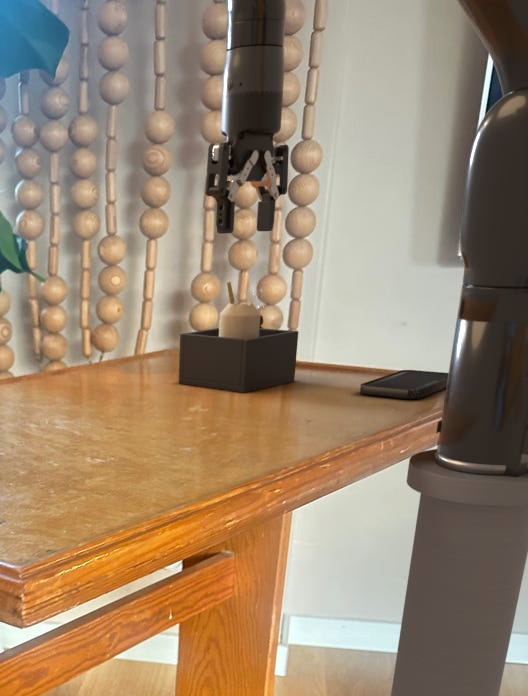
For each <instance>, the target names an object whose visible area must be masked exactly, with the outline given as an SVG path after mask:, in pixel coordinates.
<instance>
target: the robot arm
mask: <svg viewBox="0 0 528 696" xmlns="http://www.w3.org/2000/svg"><path fill="white" fill-rule="evenodd" d="M456 2H457V4H458V5H459V8H460V9H461V11H462V12H463V13H464V15H465V17H466V18H467V20H468V22H469V23H470V25H471V26H472V28H473V29H474V31H475V32H476V34H477V36H478V37H479V38H480V40H481V42H482V44H483V45H484V47H485V48H486V50H487V52H488V54H489V56H490V58H491V61H492V63H493V66H494V68H495V71H496V74H497V78H498V81H499V84H500V89H501V94H502V97H501V98H500V99H498V100H497V101H496V102H495V103H494V104H493V105H492V106H491V107H490V108H489V110H488V111H487V112H486V113H485V115H484V116H483V118H482V119H481V122H480V123H479V126H478V128H477V130H476V133H475V135H474V138H473V141H472V143H471V147H470V153H469V157H468V162H467V169H466V178H465V186H464V196H463V203H462V213H461V215H462V216H461V221H460V222H461V224H460V232H459V233H460V234H459V250H460V255H461V258H462V262H463V275H462V282H461V283H462V285H461V288H460V289H461V290H460V297H459V302H458V310H457V317H456V323H455V328H454V330H455V331H454V336H453V341H452V348H451V354H450V355H451V356H450V360H449V361H450V362H449V368H448V373H449V374H448V380H447V387H446V388H445V393H444V394H445V395H444V401H443V408H442V413H441V420H439V421H437V425H436V426H437V427H436V434H438V439H437V443H436V444H437V446H436V448H435V449H436V453H435V460H434V461H435V463H436V464H438V465H439V466H441V467H443V468H446V469H449V470H453V471H457V472H463V473H469V474H477V475H494V476H509V477H519V476H521V475H524V474H526V473H528V0H456ZM225 5H226V12H227V13H226V14H227V15H226V16H227V23H226V46H225V47H226V48H225V50H226V52H225V59H224V64H223V65H224V67H223V72H222V73H223V75H222V93H221V119H220V122H221V123H220V133H221V135H222V136H223V137H226V142H216V143H210V144H209V145H208V149H207V150H208V151H207V162H206V179H205V195H206V196H207V197H211V198H213V199H214V202H216V218H215V219H216V220H215V223H216V224H215V225H216V232H217V233H218V234H220V235H221V234H232V233H233V232H234V229H235V209H236V208H235V207H236V206H235V205H236V202H235V201H234V200H235V198H236V196H237V194H238V192H239V190H240V188H241V187H243V186H244V185H245V183H246V182H247V183H249V184H250V185H251V187H252V188H254V189H255V191H256V194H257V196H258V199H259V201H257V216H256V230H257V232H272V231H273V229H274V223H275V213H276V201H277V200H278V199H279V197H281V196H282V195H283V196H284V195H286V194H287V192H288V181H289V178H288V177H289V176H288V175H289V151H290V150H289V149H290V147H289V145H288V144H276V145H275V144H274V136H275V135H276V134H278V133H279V132H280V131H281V128H282V114H283V100H284V99H283V97H284V84H285V83H284V82H285V56H284V55H285V54H284V53H285V52H284V50H285V35H286V18H287V1H286V0H225ZM217 175H218V179H217V184H216V177H217ZM277 176H278V177H279V180H278V181H279V182H278V183H279V184H277V183H276V181H277V179H278V177H277Z"/></svg>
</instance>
